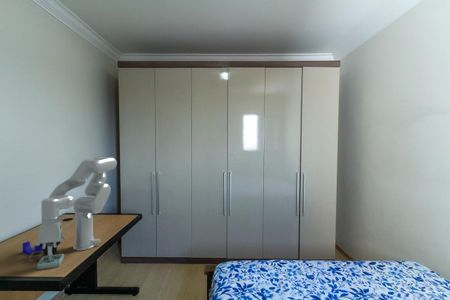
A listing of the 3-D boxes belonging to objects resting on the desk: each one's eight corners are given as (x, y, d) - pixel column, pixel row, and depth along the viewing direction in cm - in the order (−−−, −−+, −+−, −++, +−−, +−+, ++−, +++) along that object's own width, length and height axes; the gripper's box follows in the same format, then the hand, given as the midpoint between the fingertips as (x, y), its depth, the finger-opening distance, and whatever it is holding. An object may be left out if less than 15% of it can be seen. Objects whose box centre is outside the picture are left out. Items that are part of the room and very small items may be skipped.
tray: (64, 257, 136) (64, 253, 136) (59, 266, 127) (59, 262, 127) (43, 260, 132) (43, 256, 132) (36, 270, 123) (36, 265, 123)
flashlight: (55, 260, 132) (55, 241, 131) (53, 264, 128) (53, 244, 128) (47, 261, 130) (47, 242, 130) (45, 265, 127) (44, 245, 126)
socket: (45, 255, 138) (45, 250, 138) (41, 260, 133) (41, 255, 133) (32, 257, 136) (32, 252, 136) (28, 262, 131) (28, 256, 131)
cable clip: (44, 253, 142) (44, 243, 141) (36, 256, 137) (36, 246, 137) (30, 249, 146) (30, 240, 145) (22, 253, 141) (22, 243, 141)
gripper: (69, 217, 135) (69, 249, 135) (34, 220, 129) (34, 253, 130) (66, 221, 128) (66, 255, 128) (28, 225, 122) (29, 260, 123)
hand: (50, 254), depth 129 cm, fingers closed on flashlight, 3 cm apart
